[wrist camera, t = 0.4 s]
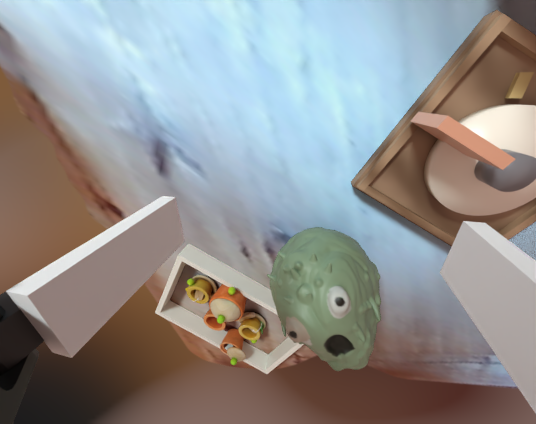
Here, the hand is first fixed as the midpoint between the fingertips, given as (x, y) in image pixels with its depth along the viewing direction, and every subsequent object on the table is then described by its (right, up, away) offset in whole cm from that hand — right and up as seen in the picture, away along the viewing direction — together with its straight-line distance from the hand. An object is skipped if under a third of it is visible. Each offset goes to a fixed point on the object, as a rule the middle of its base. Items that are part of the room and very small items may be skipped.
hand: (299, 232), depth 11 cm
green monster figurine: (+9, -6, +31) cm, 32 cm away
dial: (+24, +8, +17) cm, 30 cm away
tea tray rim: (-10, -23, +44) cm, 51 cm away
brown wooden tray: (+26, +8, +19) cm, 33 cm away
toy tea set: (-10, -23, +44) cm, 51 cm away
